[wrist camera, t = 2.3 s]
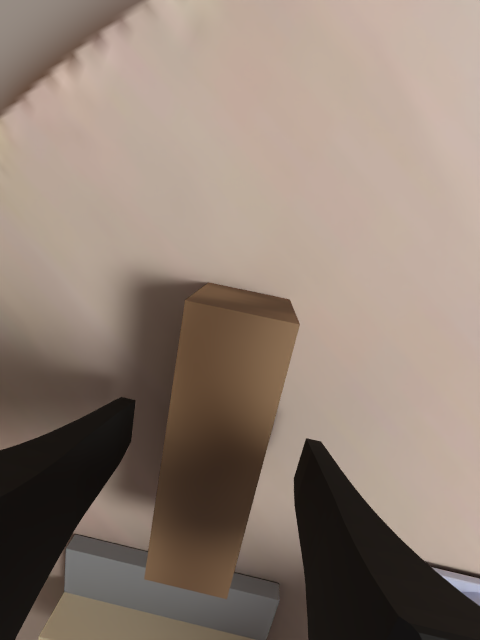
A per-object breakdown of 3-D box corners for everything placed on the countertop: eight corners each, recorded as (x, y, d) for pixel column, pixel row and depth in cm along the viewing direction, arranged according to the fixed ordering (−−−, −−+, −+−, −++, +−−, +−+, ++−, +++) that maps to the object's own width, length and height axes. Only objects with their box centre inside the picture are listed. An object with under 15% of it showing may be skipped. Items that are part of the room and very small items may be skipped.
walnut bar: (289, 298, 13) (299, 324, 9) (236, 512, 16) (226, 599, 12) (209, 281, 13) (185, 300, 9) (173, 497, 16) (144, 579, 12)
